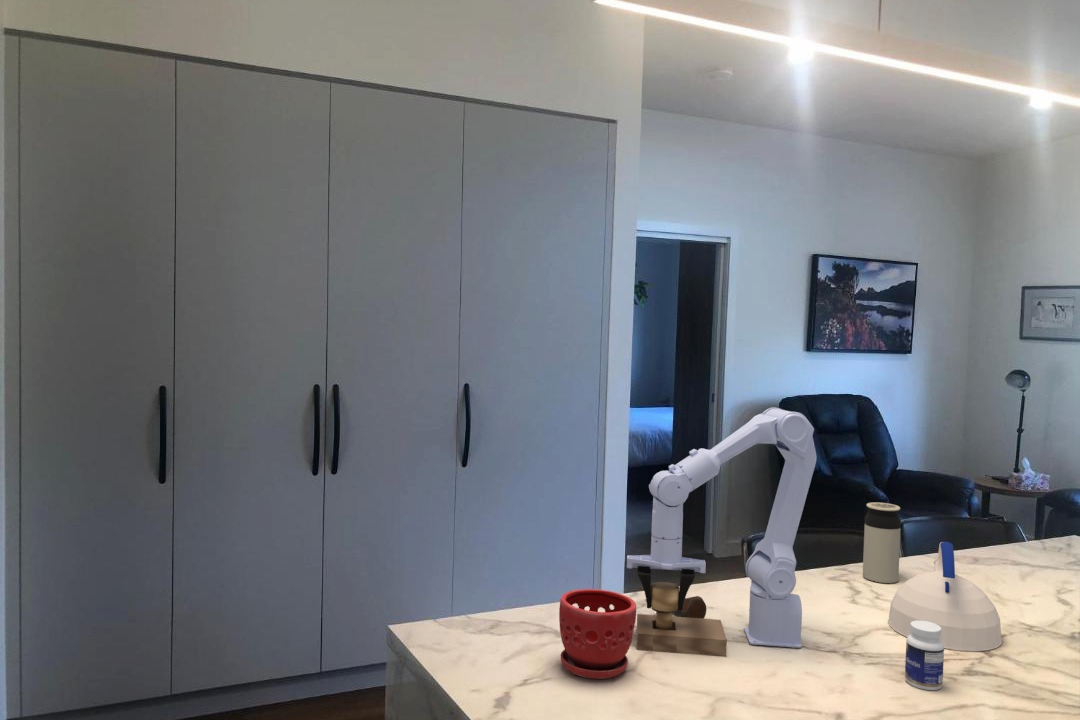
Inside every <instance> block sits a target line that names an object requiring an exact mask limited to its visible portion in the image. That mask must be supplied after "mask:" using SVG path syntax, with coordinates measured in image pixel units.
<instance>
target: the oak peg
mask: <svg viewBox="0 0 1080 720" xmlns="http://www.w3.org/2000/svg"><path fill="white" fill-rule="evenodd" d="M679 587H680V585H678V584H676V583H671V582H667V581H665V582H664V581H660V582H659V581H658V582H653V583H651V608H650V609H651V610H652V611H654V612H656V613H655V615H656V627H658V628H661V629H670V628H672V616H673V613H676V612H677V610H678V608H679Z"/></svg>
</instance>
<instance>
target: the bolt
mask: <svg viewBox="0 0 1080 720" xmlns="http://www.w3.org/2000/svg"><path fill="white" fill-rule="evenodd" d="M650 596H651V587H650ZM676 612H677V613H679V614H680V615H682V617H688V618H702V619H705V617H706V615H707V605H706V602H705V601H704V599H703V598H702V596H699V595H695V596H691V597H687V598H686V597H685V600H684V604H683V609H682V611H681V610H677V611H676Z"/></svg>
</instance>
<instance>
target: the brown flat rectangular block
mask: <svg viewBox="0 0 1080 720" xmlns="http://www.w3.org/2000/svg"><path fill="white" fill-rule="evenodd" d="M636 650H638V651H648V650H651V651H652V652H663V653H677V654H689V655H702V656H713V657H714V656H716V657H727V637H726V633H725V630H724V627H723V624H722V620H721V619H714V618H713V619H711V618H704V619H702V618H688V617H683V616H673V615H672V628H670V629H661V628H658V627H656V614H643V613H636ZM651 651H650V652H651Z"/></svg>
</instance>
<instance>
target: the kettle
mask: <svg viewBox="0 0 1080 720" xmlns="http://www.w3.org/2000/svg"><path fill="white" fill-rule="evenodd" d="M938 546H939V547H938V551H937V553H938V554H937V555H938V556H937V558H936V559H935V560H934V561H933V565H934V569H933V571H930V572H928V571H927V572H921V573H919V574H917V575H915V576H913V577H911V578H909V579H907V580H906V581H905V582H904V583H903V584H901V585H900V586H899V587H898V588H897V590H896V592H895V593H894V595H893V597H892V599H891V601H890V606H889V607H890V608H889V612H888V613H889V614H888V618H887V619H888V620H887V622H888V625H889V626H890V628H891V629H892V630H894V631H895V632H896V633H897V634H900V635H901V636H903V637H905V638H907V637H908V636H909V635H910V634H912V632H911V631H910V624H911V622H912V621H927V622H931V623H934V624H937V625H939V626H940V627H941V637H939V639H940V640H941V641H942V642H943V644H944V650H952V651H960V652H973V653H975V652H988V651H991V650H995V649H997V648H998V647H1000V646H1001V645H1003V639H1002V630H1001V628H1002V627H1001V618H1000V616H999V612H998V611H997V608H996V606H995V604H994V603H993V601H992V600H991V599H990V598H989V597H988V595H987V594H986V593H985V591H984V590H982V589H981V588H980V587H979V586H978V585H976V584H975V582H972V581H971V580H969V579H968V578H965V577H963V576H961V575H958V574H956V572H955V571H956V569H955V568H956V567H955V566H956V565H955V551H954V545H953V543H951V542H949V541H941V542H940V543H939V545H938Z"/></svg>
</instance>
